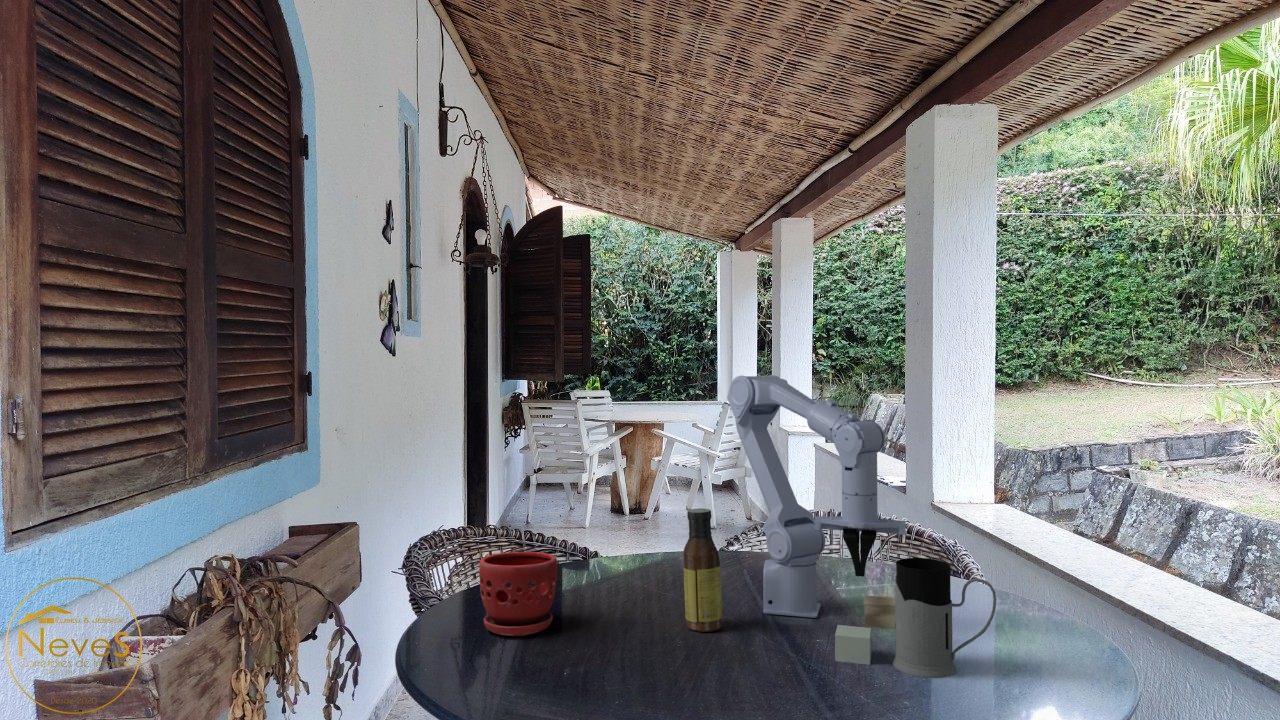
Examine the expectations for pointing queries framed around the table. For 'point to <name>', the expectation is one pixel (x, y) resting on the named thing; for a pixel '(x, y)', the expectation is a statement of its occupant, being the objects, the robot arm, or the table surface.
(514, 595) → the plant pot
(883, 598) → the birch block
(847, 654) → the sage block
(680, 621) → the table surface
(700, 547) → the sauce bottle
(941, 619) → the glass holder
